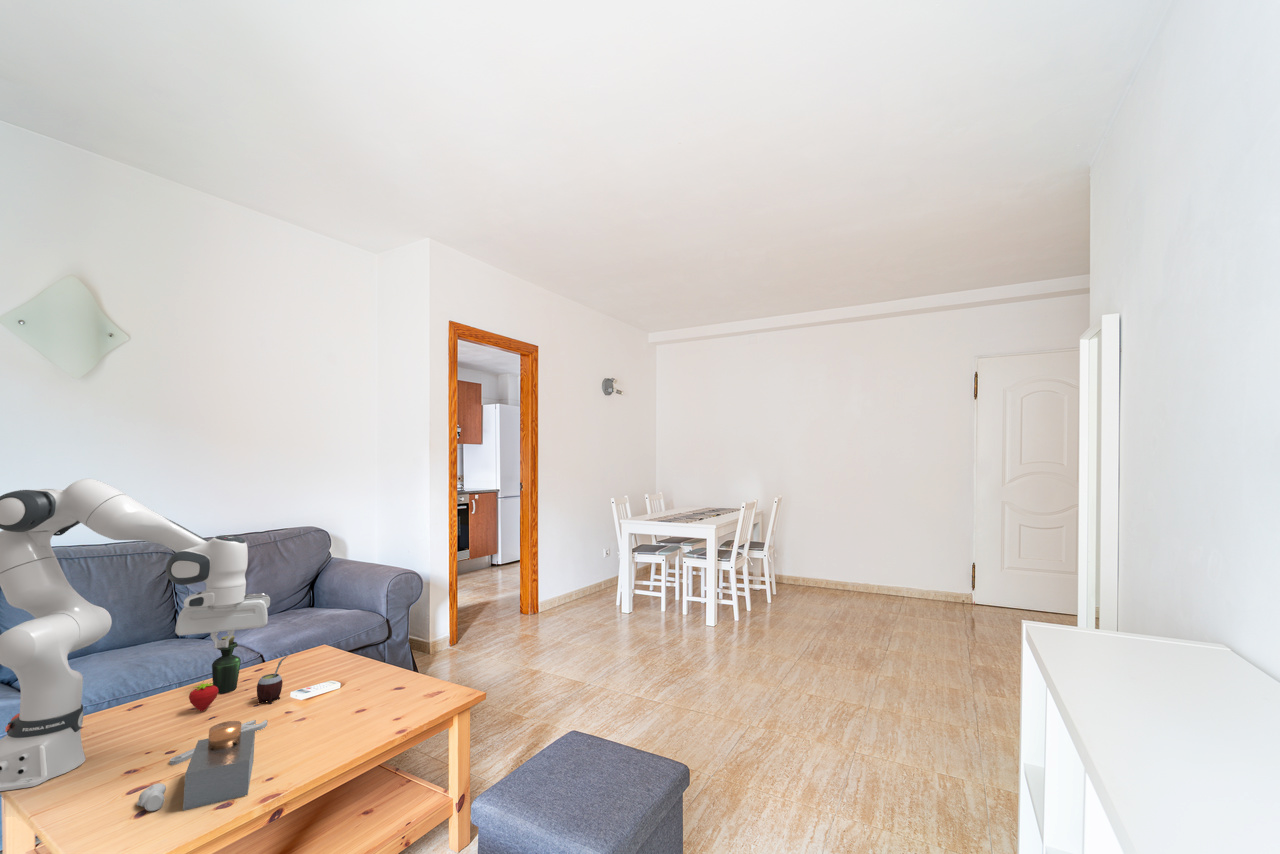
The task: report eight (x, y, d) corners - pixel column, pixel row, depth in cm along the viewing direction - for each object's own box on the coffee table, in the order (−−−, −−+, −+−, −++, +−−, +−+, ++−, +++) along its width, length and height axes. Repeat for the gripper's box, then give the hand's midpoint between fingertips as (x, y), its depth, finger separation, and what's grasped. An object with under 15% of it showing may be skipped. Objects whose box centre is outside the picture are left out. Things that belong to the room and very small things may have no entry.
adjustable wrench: (173, 768, 146) (173, 761, 146) (159, 762, 148) (159, 755, 148) (270, 727, 169) (270, 721, 169) (256, 723, 171) (257, 717, 171)
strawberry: (219, 710, 179) (221, 678, 180) (189, 718, 173) (191, 684, 174) (215, 705, 183) (217, 673, 184) (185, 712, 177) (188, 679, 178)
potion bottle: (243, 689, 196) (246, 636, 197) (216, 697, 189) (219, 642, 190) (232, 684, 200) (236, 632, 202) (205, 691, 193) (209, 638, 195)
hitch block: (182, 810, 127) (185, 773, 128) (196, 773, 142) (198, 740, 143) (247, 795, 133) (249, 760, 134) (253, 761, 149) (255, 729, 149)
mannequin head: (141, 806, 131) (169, 791, 134) (137, 822, 124) (167, 807, 128) (135, 789, 130) (163, 775, 133) (131, 805, 124) (160, 790, 127)
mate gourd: (254, 700, 186) (257, 654, 188) (282, 694, 192) (284, 649, 193) (258, 707, 181) (260, 660, 182) (286, 701, 186) (289, 654, 187)
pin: (204, 782, 137) (207, 735, 138) (208, 769, 142) (211, 724, 143) (237, 774, 140) (240, 728, 141) (240, 762, 146) (242, 718, 147)
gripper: (271, 590, 162) (267, 639, 161) (181, 596, 152) (176, 649, 151) (270, 594, 157) (266, 645, 156) (176, 601, 146) (171, 656, 145)
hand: (221, 647), depth 153 cm, fingers closed
